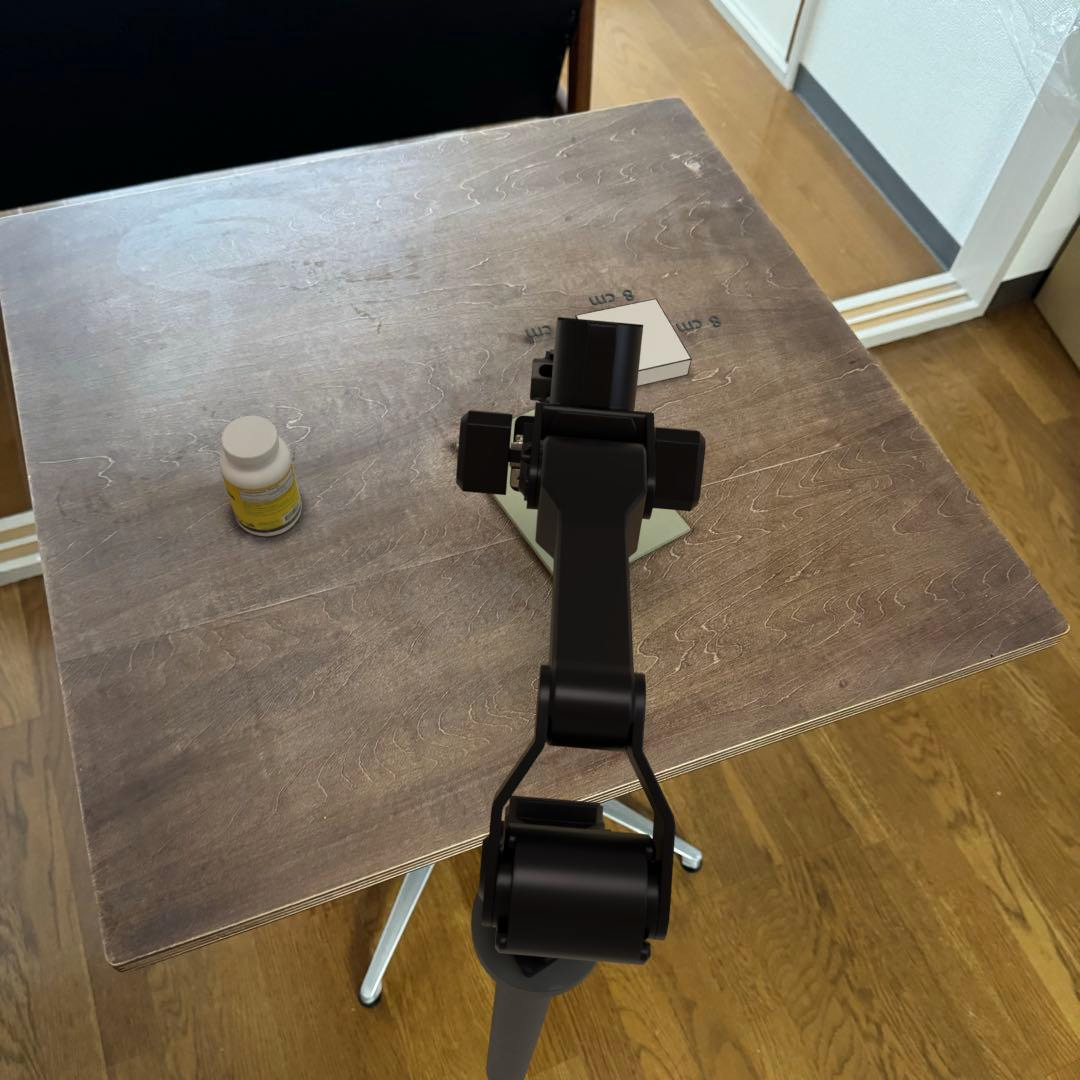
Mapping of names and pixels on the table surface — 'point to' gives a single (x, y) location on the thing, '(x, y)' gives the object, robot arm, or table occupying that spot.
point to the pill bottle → (259, 476)
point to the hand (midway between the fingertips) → (576, 451)
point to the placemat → (652, 536)
